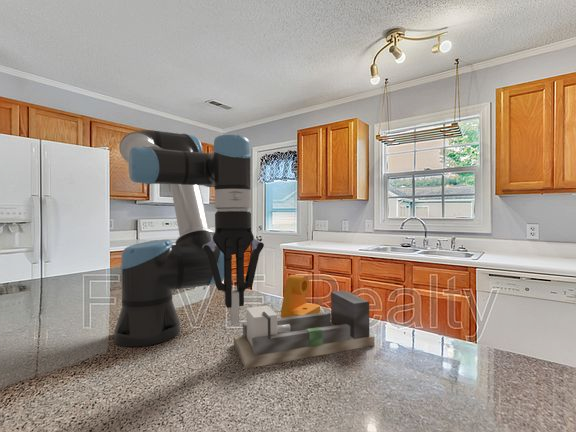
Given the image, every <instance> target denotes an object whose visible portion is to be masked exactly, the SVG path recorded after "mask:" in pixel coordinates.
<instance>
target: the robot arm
mask: <svg viewBox="0 0 576 432" xmlns="http://www.w3.org/2000/svg"><path fill="white" fill-rule="evenodd" d="M119 153H120V155H121V157H122V158H123V159H124V160H125V162H126V163H128V175H129V178H130V181H131V182H132V183H137V184H146V185H152V184H154V185H155V184H157V185H170V191H171V195H172V200H173V201H172V202H173V207H174V211H175V217H176V218H175V219H176V223H177V228H178V235H179V237H178V238H177V239H176V240H175V244H173V242H172V240H171V239H159V240H157V239H156V240H150V241H144V242H140V243H136V244H131V245H129V246H126V247H125V248H124V249H123V250H122V251H121V261H120V262H121V263H120V267H119V268H120V270H121V309H120V313H119V316H118V318H117V321H116V325H115V328H114V332H113V336H114V337H113V338H114V342H115V344H116V345H119V346H123V347H129V348H131V347H135V348H137V347H138V348H139V347H146V346H152V345H157V344H160V343H163V342H166V341H170V340H172V339H173V338H175V337H176V336H178V335H179V334H180V331H181V322H180V318H179V316H178V313H177V309H176V307H175V304H174V301H173V291H175V290H183V289H189V288H198V287H203V286H206V287H208V286H212V285H215V288H217V290H218V291H219V292H220V291H221V292H223V293H224V305H225V307H226V308H227V309H229V319H230V320H229V321H230V323H231V324H232V325H240V307H244V305H245V291H246V290H247V289H250V288H252V287H253V284H254V280H255V276H256V271H257V267H258V261H259V257H260V253H261V252H262V251H263V249H264V247H265V244H264V243H263V242H261V241H259V240H257V239H256V238H255V236H254V234H253V231H252V213H251V211H249V209H251V208H252V198H251V196H252V195H251V193H252V191H251V190H252V189H251V183H252V182H251V176H252V175H251V170H252V167H251V166H252V165H251V162H252V161H251V158H252V154H251V144H250V140H249V139H248V138H247V137H245V136H243V135H239V134H222V135H217V136H216V137H215V138H214V140H213V148H212V152H211V153H208V152H203V145H202V143H201V141H200V140H199V138H198V137H197V136H196V135H191V134H188V133H178V132H176V133H175V132H168V131H162V130H161V131H160V130H153V129H142V130H136V131H132V132H130V133H126V134H125V135H124V136H123V137H122V139H121V140H120V142H119ZM201 186H204V187H207V188H214V209H215V210H217V211H216V212H215V213H214V231H213V230H212V229H211V228H210V224H209V221H208V215H207V211H206V208H205V203H204V200H203V199H204V198H203V195H202V190H201ZM249 247H250V248H251V249H252V250H251V252H250V256H249V262H248V265H247V266H248V267H247V270H246V275H245V253H246V251H247V249H249ZM233 255H235V269H236V271H235V275H236V276H235V277H236V281H235V282H236V289H233V283H232V282H233V278H232V277H233V273H232V272H233V271H232V270H233V269H232V267H233V266H232V261H233ZM223 281H224V282H223Z"/></svg>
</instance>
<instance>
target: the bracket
mask: <svg viewBox="0 0 576 432" xmlns="http://www.w3.org/2000/svg"><path fill="white" fill-rule="evenodd" d="M309 288H310V280H309V278H308V277H307V276H306V275H297V274H290V275H288V277H287V279H286V282H285V288H284V293H283V297H282V298H283V299H282V304H281V309H280V318H285V317H293V316H300V315H308V314H315V313H321V305H320V304H316V303H311V302H307V300H306V299H307V298H306V295H307V293H308V292H309V290H310V289H309Z"/></svg>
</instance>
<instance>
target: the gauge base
mask: <svg viewBox="0 0 576 432" xmlns="http://www.w3.org/2000/svg"><path fill="white" fill-rule="evenodd" d="M330 311H331V312H329V311H324V312H320V313H315V314H308V315H300V316H293V317H285V318H281V317H279V318H278V317H277V326H278V325H285V324H290V328H291V330H290V331H289V332H283V333H277V334H275V335H271V339H268V336H262V337H255V338H252V346H251V344H250V342H249V341H248V339H247V322H243V323H242V335H241V334H240V335H235V336H234V335H233V346H234V348H235V350H236V352H237V354H238V357H239V359H240V361H241V364H242V365H243V368H244V369H245V370H247V369H252V368H258V367H264V366H269V365H274V364H280V363H285V362H291V361H297V360H301V359H308V358H314V357H318V356H324V355H329V354H334V353H340V352H346V351H350V350H351V351H352V350H355V349H360V348H361V349H363V348H368V347H372V346H373V347H374V346H375V342H376V341H375V336H374V335H373V334H371V333H370V301H369V300H366V299H365V298H362V297H360V296H359V295H355V294H353V293H351V292H350V291H346V290H338V291H337V290H336V291H335V290H334V291H330Z"/></svg>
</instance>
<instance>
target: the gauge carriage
mask: <svg viewBox="0 0 576 432" xmlns="http://www.w3.org/2000/svg"><path fill="white" fill-rule="evenodd" d="M277 319H278V314H277V313H276V312H275V311H274V310H273V309H272V308H271V307H270V306H269V305H259V306H254V307H253V306H252V307H246V323H247V339H248V341H249V342H250V344H251V346H252V338H255V337H262V336H268V339H271V335H275V334H277V333H283V332H289V331H290V330H291V328H290V324H285V325H278V326H277Z"/></svg>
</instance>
